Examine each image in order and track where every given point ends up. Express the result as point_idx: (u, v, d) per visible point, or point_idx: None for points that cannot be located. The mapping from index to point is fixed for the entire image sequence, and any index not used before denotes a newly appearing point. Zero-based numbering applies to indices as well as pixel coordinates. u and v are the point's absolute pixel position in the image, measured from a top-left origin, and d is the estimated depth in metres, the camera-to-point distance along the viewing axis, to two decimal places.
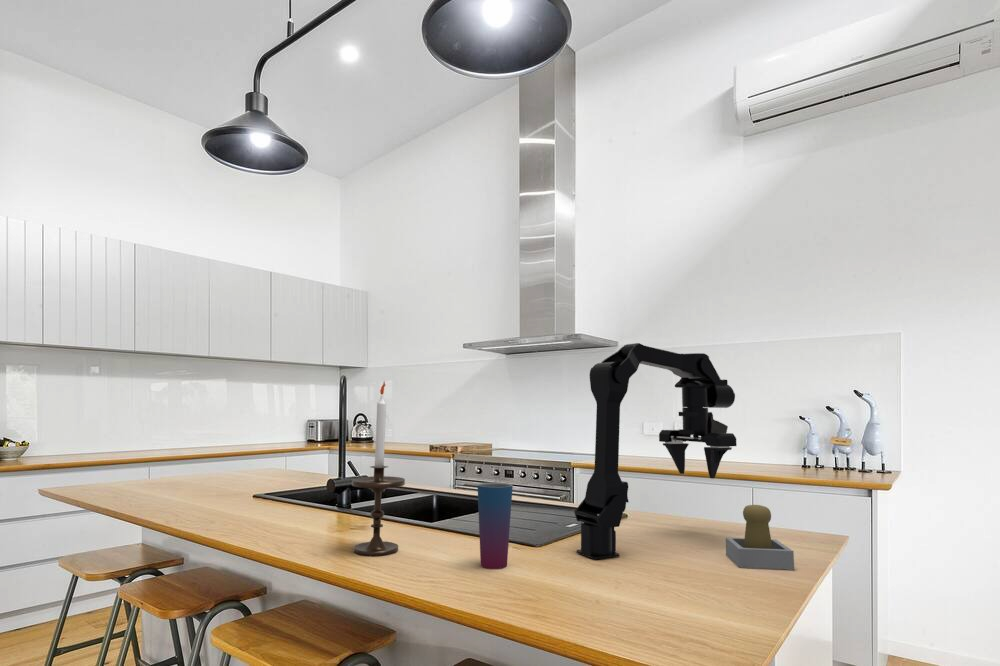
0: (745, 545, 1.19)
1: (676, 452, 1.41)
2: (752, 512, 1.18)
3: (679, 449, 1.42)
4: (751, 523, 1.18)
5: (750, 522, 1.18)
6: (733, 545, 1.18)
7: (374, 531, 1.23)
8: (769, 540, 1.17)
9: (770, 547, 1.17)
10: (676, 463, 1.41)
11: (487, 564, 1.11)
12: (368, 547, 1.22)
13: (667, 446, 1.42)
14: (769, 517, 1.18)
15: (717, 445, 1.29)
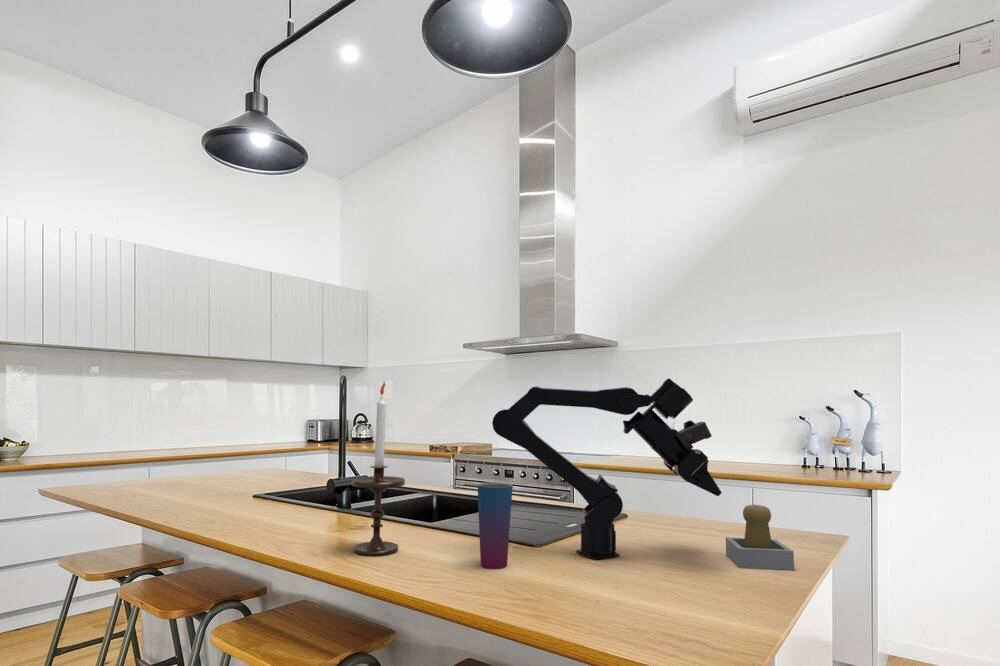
0: (745, 545, 1.19)
1: None
2: (752, 512, 1.18)
3: None
4: (751, 523, 1.18)
5: (750, 522, 1.18)
6: (733, 545, 1.18)
7: (374, 531, 1.23)
8: (769, 540, 1.17)
9: (770, 547, 1.17)
10: None
11: (487, 564, 1.11)
12: (368, 547, 1.22)
13: None
14: (769, 517, 1.18)
15: (684, 478, 1.14)
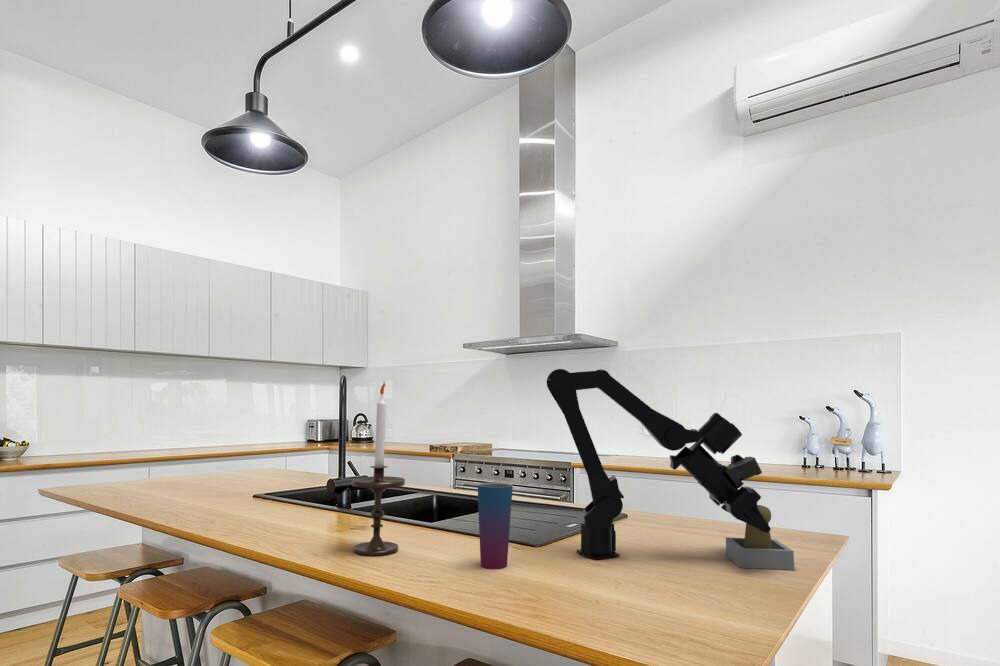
0: (745, 545, 1.19)
1: None
2: None
3: None
4: None
5: None
6: (733, 545, 1.18)
7: (374, 531, 1.23)
8: (769, 540, 1.17)
9: (770, 547, 1.17)
10: None
11: (487, 564, 1.11)
12: (368, 547, 1.22)
13: None
14: (769, 517, 1.18)
15: (737, 518, 1.12)
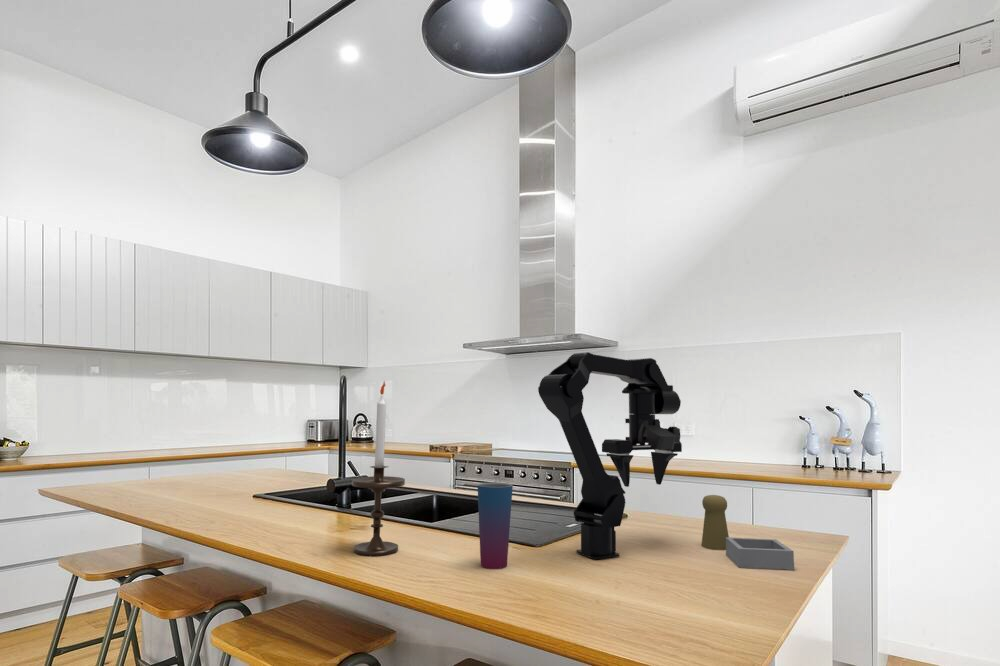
0: (705, 532, 1.31)
1: (655, 461, 1.36)
2: (713, 501, 1.30)
3: (658, 458, 1.35)
4: (711, 511, 1.30)
5: (710, 511, 1.30)
6: (733, 545, 1.18)
7: (374, 531, 1.23)
8: (726, 526, 1.30)
9: (727, 532, 1.30)
10: None
11: (487, 564, 1.11)
12: (368, 547, 1.22)
13: None
14: (726, 505, 1.31)
15: (602, 450, 1.31)
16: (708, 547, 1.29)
